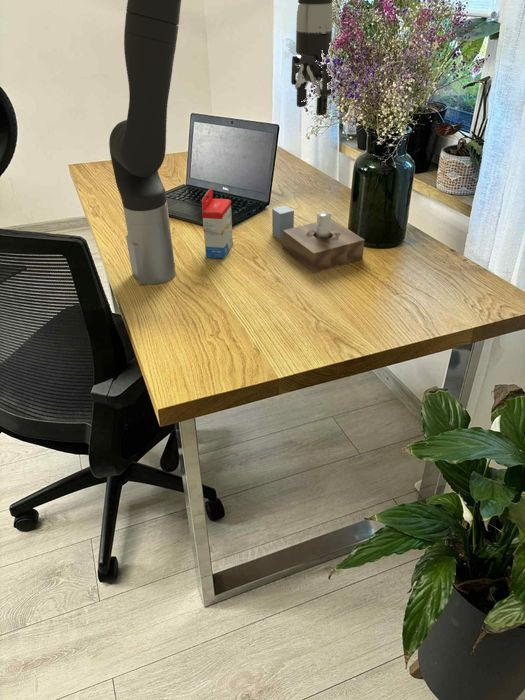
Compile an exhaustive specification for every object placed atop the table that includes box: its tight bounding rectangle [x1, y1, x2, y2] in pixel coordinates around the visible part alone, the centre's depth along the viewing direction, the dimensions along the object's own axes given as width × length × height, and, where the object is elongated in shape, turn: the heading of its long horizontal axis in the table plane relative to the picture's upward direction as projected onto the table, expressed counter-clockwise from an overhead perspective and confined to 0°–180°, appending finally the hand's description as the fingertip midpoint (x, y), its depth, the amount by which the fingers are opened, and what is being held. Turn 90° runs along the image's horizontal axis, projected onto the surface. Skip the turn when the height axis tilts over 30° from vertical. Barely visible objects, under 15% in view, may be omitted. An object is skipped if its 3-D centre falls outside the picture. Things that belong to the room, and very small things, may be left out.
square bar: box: [271, 205, 295, 241], centre depth 139 cm, size 4×4×7 cm
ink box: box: [201, 186, 234, 259], centre depth 130 cm, size 8×5×15 cm, turn 168°
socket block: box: [282, 218, 365, 274], centre depth 131 cm, size 14×14×5 cm
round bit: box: [316, 211, 332, 239], centre depth 129 cm, size 3×3×10 cm
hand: (311, 110), depth 124 cm, fingers open, 8 cm apart
